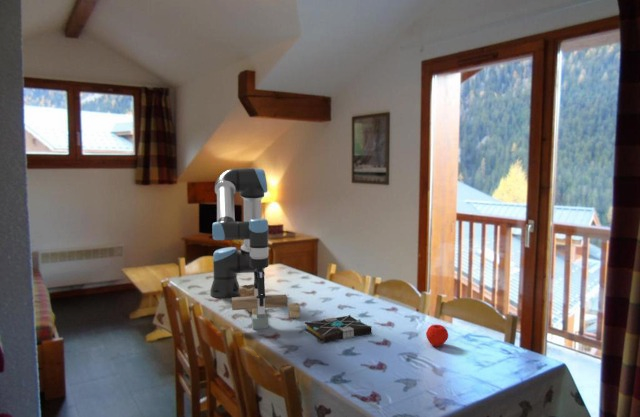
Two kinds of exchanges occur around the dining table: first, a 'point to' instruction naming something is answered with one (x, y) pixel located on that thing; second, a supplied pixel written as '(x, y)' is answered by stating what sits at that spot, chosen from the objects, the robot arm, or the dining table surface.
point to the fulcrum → (259, 321)
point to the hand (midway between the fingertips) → (259, 308)
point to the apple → (437, 335)
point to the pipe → (247, 292)
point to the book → (337, 328)
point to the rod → (252, 302)
